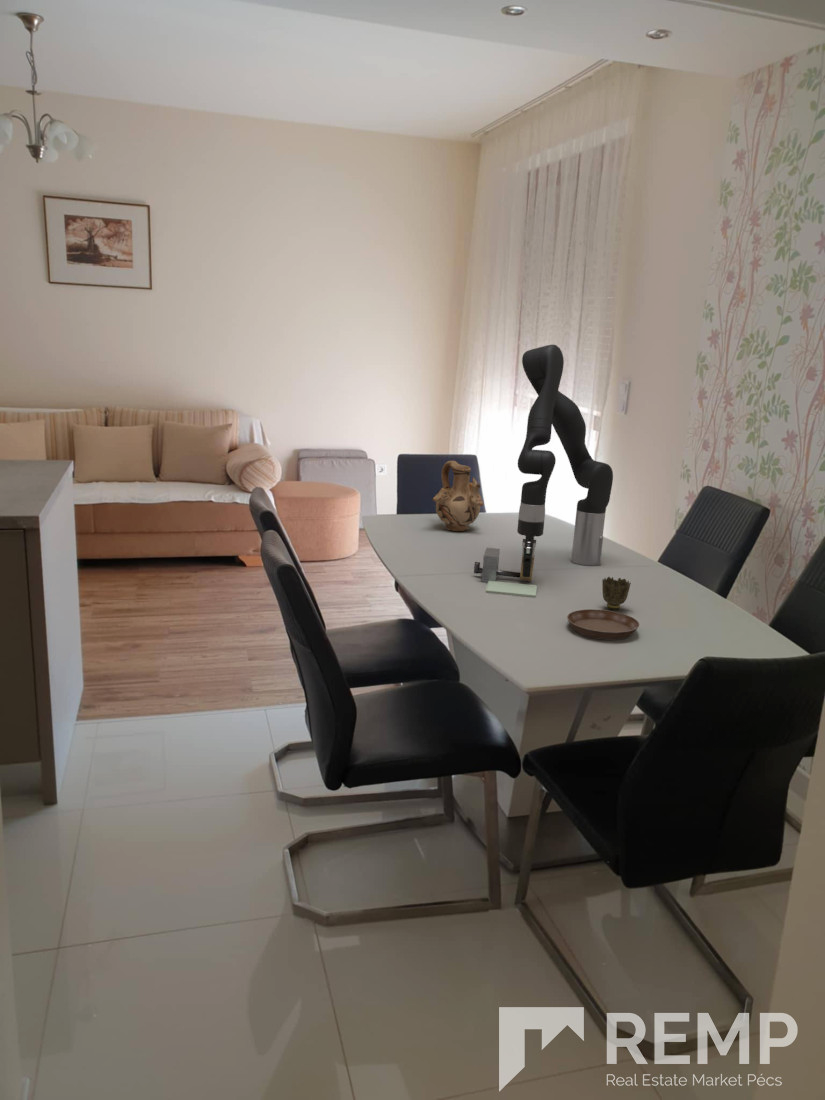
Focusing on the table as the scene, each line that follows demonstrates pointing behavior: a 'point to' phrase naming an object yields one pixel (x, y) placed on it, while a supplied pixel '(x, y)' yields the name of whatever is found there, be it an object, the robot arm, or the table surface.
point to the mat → (511, 589)
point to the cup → (615, 592)
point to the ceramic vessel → (458, 498)
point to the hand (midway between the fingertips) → (526, 574)
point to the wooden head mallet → (508, 573)
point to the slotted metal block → (490, 564)
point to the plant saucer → (602, 624)
